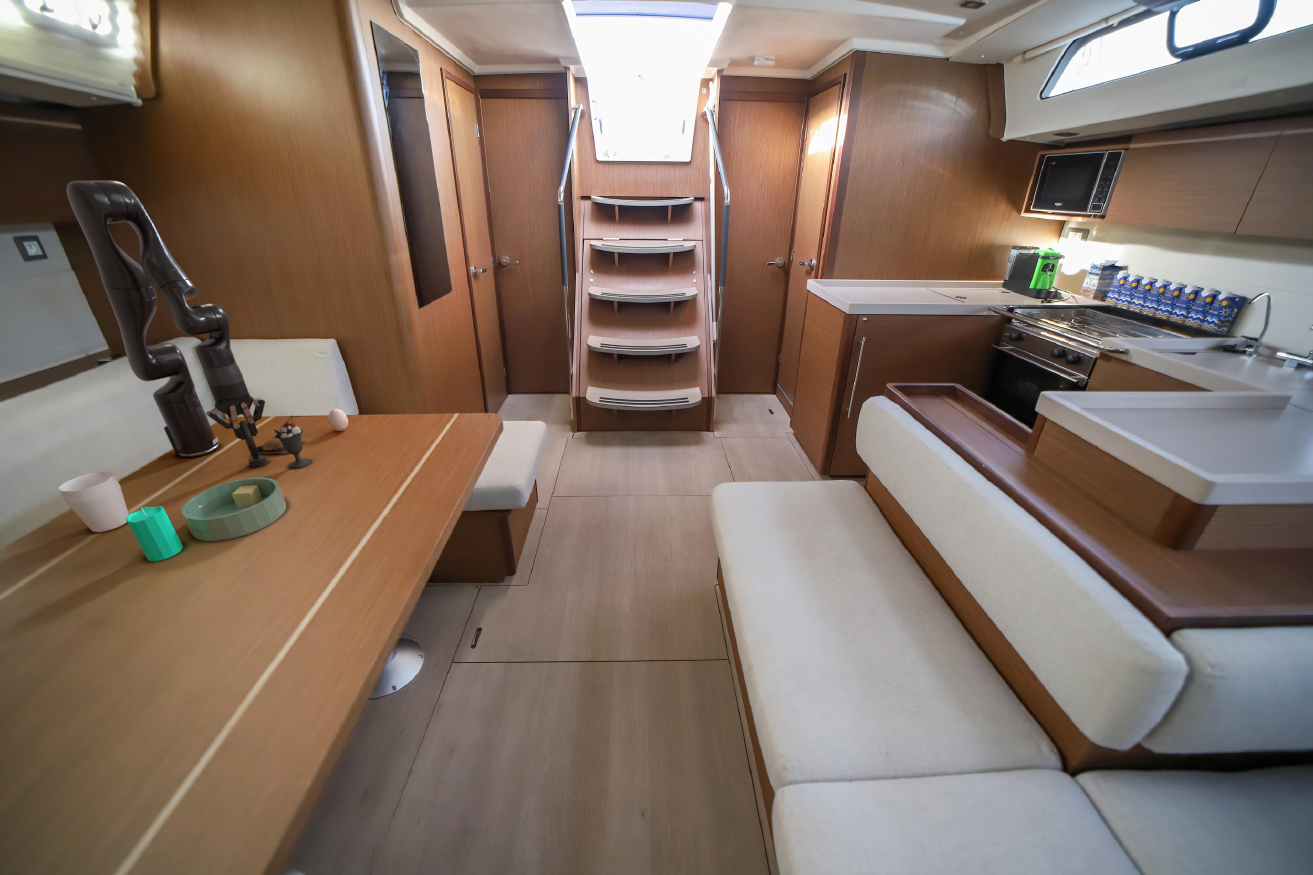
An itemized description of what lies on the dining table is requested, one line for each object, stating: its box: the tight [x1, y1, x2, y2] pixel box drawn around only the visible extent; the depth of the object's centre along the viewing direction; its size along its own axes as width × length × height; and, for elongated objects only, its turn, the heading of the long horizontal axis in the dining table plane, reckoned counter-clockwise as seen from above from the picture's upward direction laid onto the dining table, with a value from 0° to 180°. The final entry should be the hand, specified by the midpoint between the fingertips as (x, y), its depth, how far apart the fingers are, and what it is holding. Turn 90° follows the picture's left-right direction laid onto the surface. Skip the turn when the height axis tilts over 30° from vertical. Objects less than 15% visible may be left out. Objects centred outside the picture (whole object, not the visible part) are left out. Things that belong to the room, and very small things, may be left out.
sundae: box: [273, 415, 310, 469], centre depth 144 cm, size 7×7×15 cm
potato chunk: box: [232, 485, 263, 508], centre depth 127 cm, size 4×4×4 cm
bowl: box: [180, 476, 287, 542], centre depth 122 cm, size 19×19×6 cm
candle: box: [126, 505, 184, 562], centre depth 108 cm, size 6×6×12 cm
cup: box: [58, 471, 130, 533], centre depth 117 cm, size 9×9×12 cm
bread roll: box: [256, 437, 289, 455], centre depth 155 cm, size 11×8×4 cm
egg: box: [327, 408, 349, 432], centre depth 166 cm, size 6×6×8 cm
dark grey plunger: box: [238, 420, 268, 469], centre depth 144 cm, size 4×4×14 cm
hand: (248, 437), depth 143 cm, fingers closed
